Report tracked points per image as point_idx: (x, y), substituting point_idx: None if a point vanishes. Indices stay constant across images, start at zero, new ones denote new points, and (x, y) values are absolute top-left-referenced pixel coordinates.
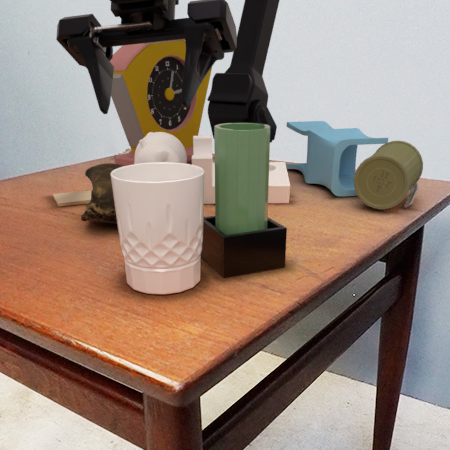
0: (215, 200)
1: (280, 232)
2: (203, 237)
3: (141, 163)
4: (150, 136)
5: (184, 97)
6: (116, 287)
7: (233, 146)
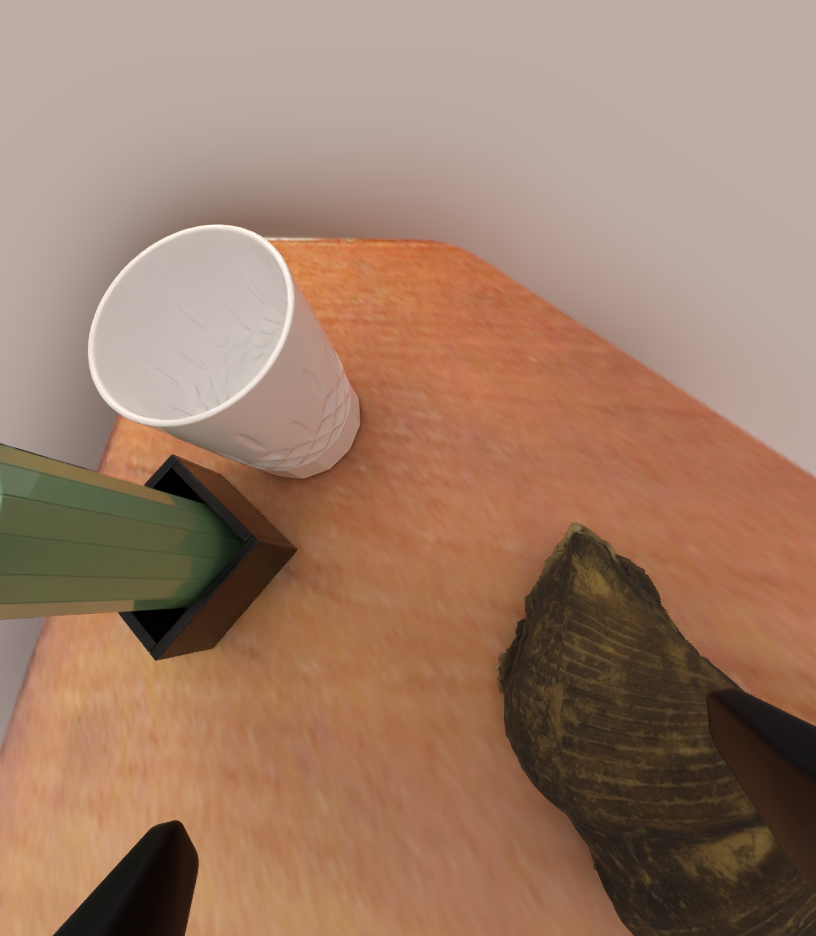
0: (170, 503)
1: None
2: (257, 526)
3: (264, 369)
4: None
5: (139, 851)
6: (358, 366)
7: None
